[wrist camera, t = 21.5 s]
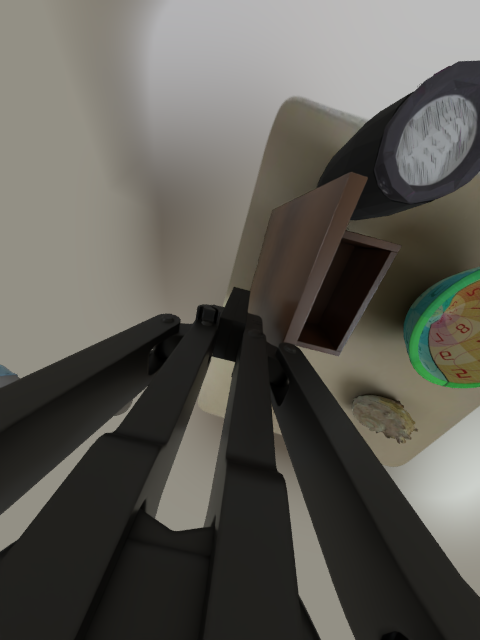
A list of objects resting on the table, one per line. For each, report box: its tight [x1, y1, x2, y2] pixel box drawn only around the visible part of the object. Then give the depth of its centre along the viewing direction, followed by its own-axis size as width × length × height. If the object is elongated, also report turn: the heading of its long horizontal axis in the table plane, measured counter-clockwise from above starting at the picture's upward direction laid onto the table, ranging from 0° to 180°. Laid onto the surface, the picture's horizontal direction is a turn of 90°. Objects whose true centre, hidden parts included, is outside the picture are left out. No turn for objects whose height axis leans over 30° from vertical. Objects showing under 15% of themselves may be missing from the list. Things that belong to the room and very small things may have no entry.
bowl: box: [404, 267, 480, 388], centre depth 33 cm, size 22×22×10 cm
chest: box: [250, 223, 401, 356], centre depth 33 cm, size 17×18×11 cm
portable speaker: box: [316, 61, 480, 220], centre depth 22 cm, size 9×9×20 cm
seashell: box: [352, 395, 418, 444], centre depth 45 cm, size 11×15×10 cm
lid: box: [248, 172, 368, 347], centre depth 19 cm, size 18×18×1 cm
